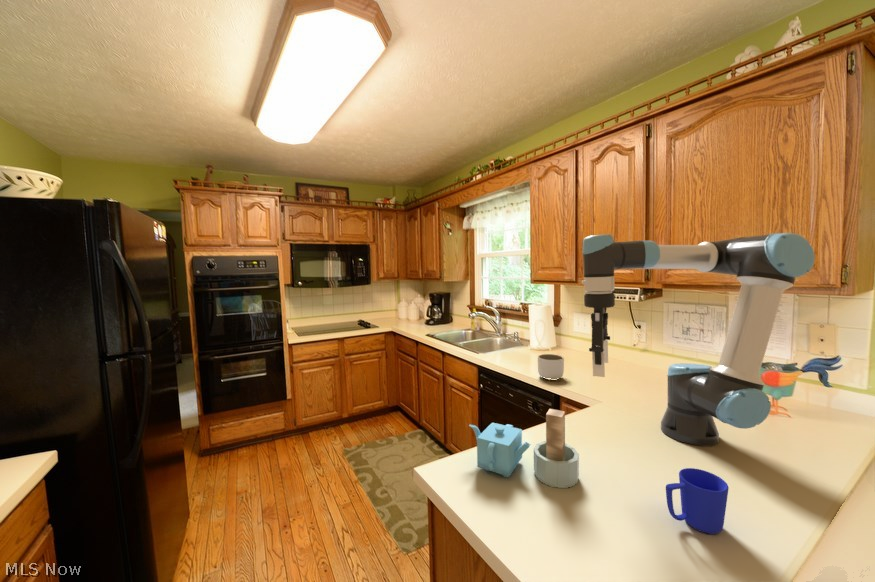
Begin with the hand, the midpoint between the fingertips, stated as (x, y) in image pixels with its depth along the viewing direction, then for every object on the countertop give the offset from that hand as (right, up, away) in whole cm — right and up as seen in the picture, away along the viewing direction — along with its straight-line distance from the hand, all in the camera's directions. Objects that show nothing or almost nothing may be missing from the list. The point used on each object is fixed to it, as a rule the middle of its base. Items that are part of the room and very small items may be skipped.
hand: (601, 368), depth 93 cm
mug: (+9, -29, -21) cm, 37 cm away
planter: (+12, -23, +76) cm, 80 cm away
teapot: (-28, -28, +2) cm, 40 cm away
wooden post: (-14, -27, -3) cm, 30 cm away
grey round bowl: (-13, -28, -3) cm, 31 cm away
